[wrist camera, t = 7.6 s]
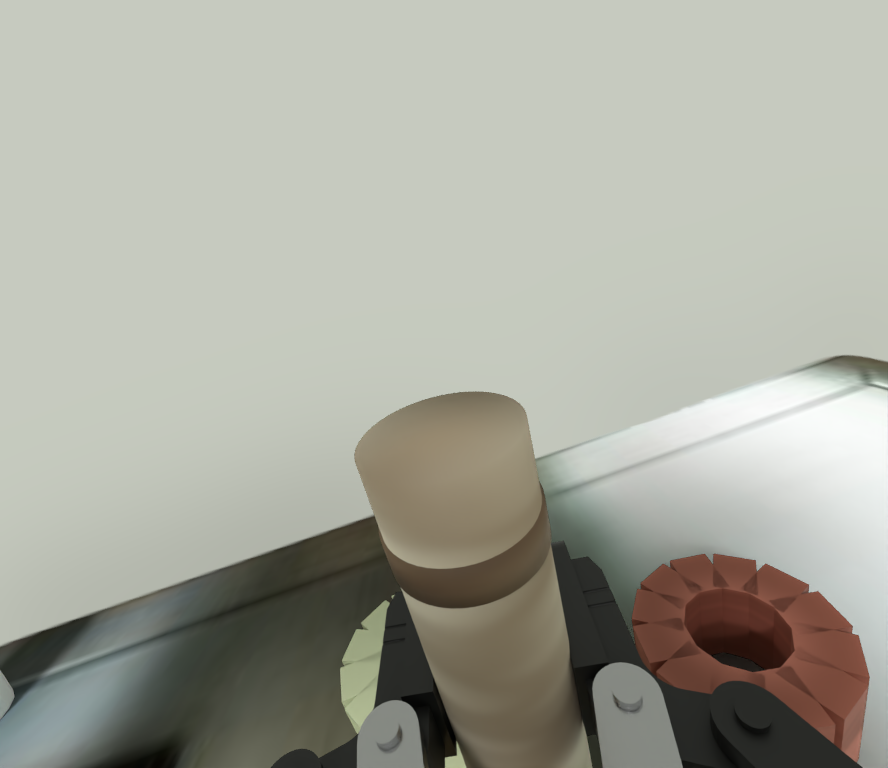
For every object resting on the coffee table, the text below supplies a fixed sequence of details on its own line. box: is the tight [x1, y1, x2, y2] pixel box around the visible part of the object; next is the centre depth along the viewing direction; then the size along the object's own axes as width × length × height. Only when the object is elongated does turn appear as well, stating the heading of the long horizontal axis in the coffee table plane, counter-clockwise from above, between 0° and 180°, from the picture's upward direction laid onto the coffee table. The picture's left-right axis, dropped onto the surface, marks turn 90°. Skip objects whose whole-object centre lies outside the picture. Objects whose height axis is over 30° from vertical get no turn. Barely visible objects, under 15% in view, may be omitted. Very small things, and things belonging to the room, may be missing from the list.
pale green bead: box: [340, 595, 466, 768], centre depth 26 cm, size 9×9×5 cm
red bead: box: [632, 554, 870, 762], centre depth 23 cm, size 9×9×5 cm
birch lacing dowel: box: [355, 392, 593, 768], centre depth 10 cm, size 3×3×15 cm
